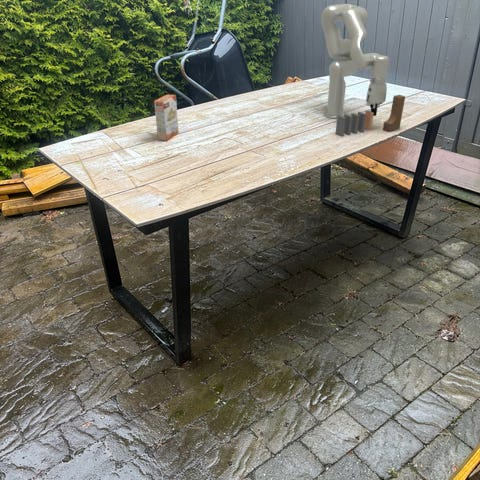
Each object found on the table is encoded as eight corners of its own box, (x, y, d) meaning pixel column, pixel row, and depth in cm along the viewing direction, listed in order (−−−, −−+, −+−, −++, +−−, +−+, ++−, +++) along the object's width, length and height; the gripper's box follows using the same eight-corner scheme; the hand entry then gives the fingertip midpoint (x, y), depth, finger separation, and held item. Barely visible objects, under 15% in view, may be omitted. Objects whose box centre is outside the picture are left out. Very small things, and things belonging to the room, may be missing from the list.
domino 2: (342, 132, 249) (344, 114, 244) (344, 131, 250) (346, 113, 244) (347, 135, 245) (350, 116, 240) (350, 134, 246) (352, 116, 240)
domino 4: (355, 129, 252) (357, 111, 247) (357, 129, 253) (360, 111, 247) (361, 132, 248) (363, 114, 243) (363, 132, 249) (366, 114, 244)
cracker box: (167, 141, 240) (163, 101, 229) (157, 140, 242) (153, 100, 230) (179, 133, 251) (176, 94, 240) (169, 131, 253) (166, 93, 241)
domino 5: (363, 128, 254) (365, 110, 249) (365, 127, 255) (367, 110, 249) (369, 130, 250) (371, 113, 245) (371, 130, 251) (373, 112, 246)
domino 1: (335, 133, 247) (337, 115, 242) (337, 133, 248) (339, 115, 243) (341, 136, 244) (343, 118, 238) (343, 135, 244) (345, 117, 239)
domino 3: (348, 131, 251) (351, 113, 245) (351, 130, 251) (353, 112, 246) (354, 133, 247) (357, 115, 241) (357, 133, 247) (359, 115, 242)
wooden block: (388, 132, 249) (394, 98, 239) (382, 129, 252) (387, 97, 242) (399, 128, 253) (405, 96, 243) (393, 126, 256) (399, 94, 246)
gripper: (371, 84, 234) (366, 119, 244) (394, 80, 240) (388, 115, 249) (362, 81, 240) (357, 115, 250) (384, 77, 245) (379, 111, 255)
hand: (373, 115), depth 249 cm, fingers closed
